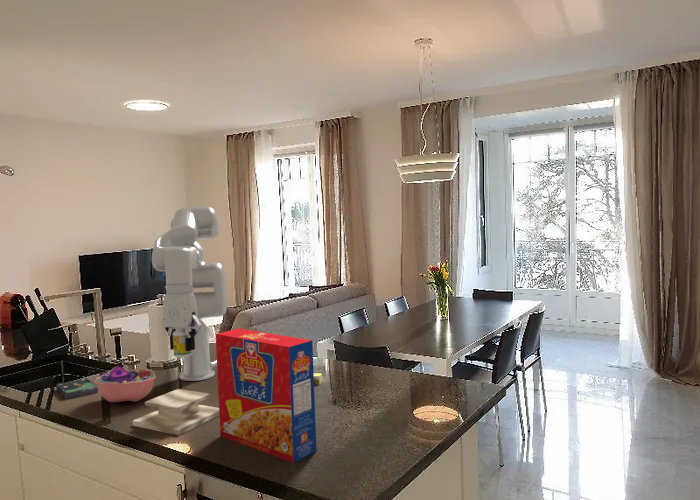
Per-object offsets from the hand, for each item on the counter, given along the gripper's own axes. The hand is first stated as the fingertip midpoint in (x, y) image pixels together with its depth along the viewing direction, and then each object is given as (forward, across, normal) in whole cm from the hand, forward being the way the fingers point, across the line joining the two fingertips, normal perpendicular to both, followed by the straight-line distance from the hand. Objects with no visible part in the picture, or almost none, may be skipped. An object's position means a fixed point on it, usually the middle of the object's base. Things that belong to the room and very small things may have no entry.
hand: (182, 348), depth 165 cm
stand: (+20, +1, -4) cm, 20 cm away
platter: (+20, +12, +38) cm, 45 cm away
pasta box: (+21, +35, -8) cm, 42 cm away
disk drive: (+20, -54, +3) cm, 58 cm away
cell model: (+20, -28, +3) cm, 35 cm away
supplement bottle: (+2, 0, 0) cm, 2 cm away
